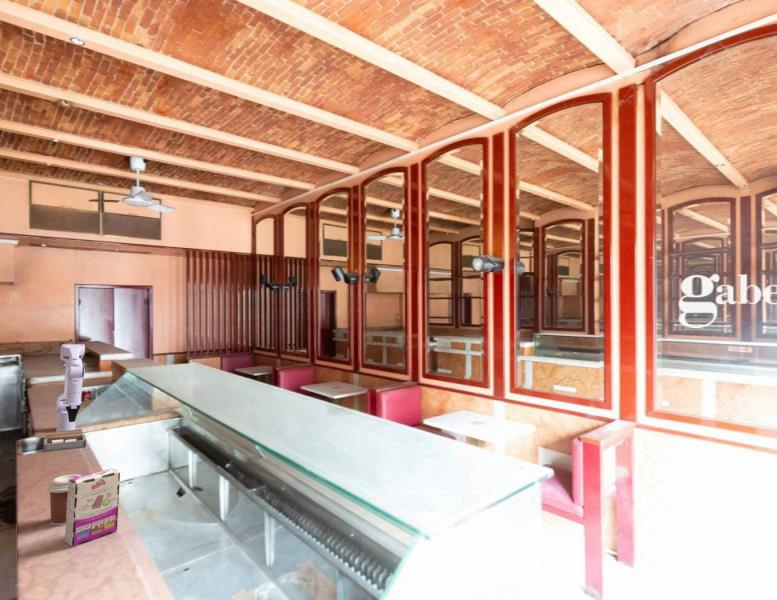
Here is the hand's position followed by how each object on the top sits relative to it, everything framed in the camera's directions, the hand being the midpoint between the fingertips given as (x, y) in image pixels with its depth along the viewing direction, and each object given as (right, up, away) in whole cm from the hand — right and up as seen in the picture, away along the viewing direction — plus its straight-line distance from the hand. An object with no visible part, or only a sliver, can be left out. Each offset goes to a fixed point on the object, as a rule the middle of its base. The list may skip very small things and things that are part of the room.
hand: (71, 421), depth 205 cm
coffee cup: (+53, -7, -77) cm, 94 cm away
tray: (+2, -9, -7) cm, 11 cm away
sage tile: (+4, -7, -6) cm, 10 cm away
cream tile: (-1, -6, -8) cm, 10 cm away
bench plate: (-6, -9, +4) cm, 12 cm away
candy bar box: (+67, -8, -86) cm, 109 cm away
